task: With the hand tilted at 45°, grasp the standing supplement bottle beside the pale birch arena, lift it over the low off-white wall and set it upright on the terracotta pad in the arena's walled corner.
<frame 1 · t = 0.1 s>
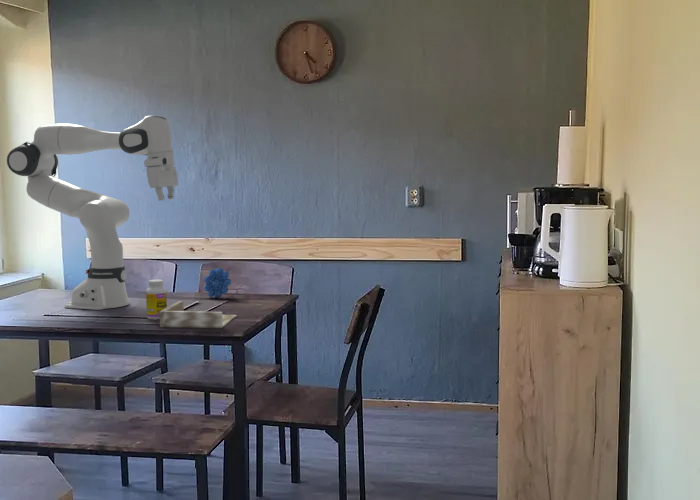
hand: (166, 199, 259), 39 cm above the table, tool pointing down, fingers open, 8 cm apart
blue flower shape: (218, 298, 280), on the table
supplement bottle: (157, 318, 244), on the table
arena: (199, 321, 238), on the table
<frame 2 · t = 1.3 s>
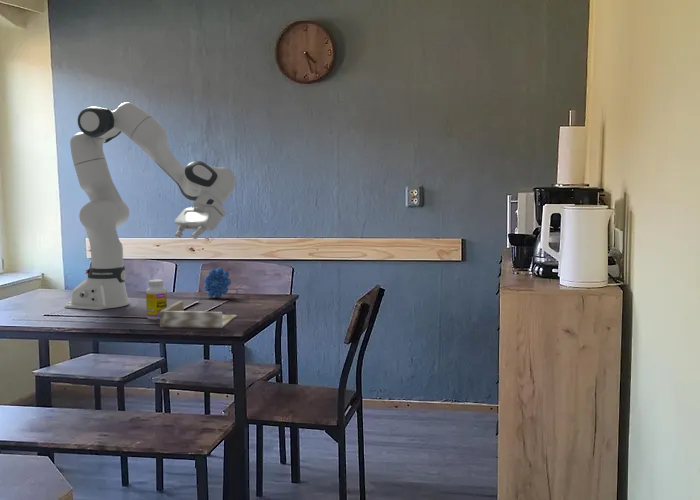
hand: (185, 237, 250), 26 cm above the table, tool tilted 45°, fingers open, 8 cm apart
nothing on the table moved.
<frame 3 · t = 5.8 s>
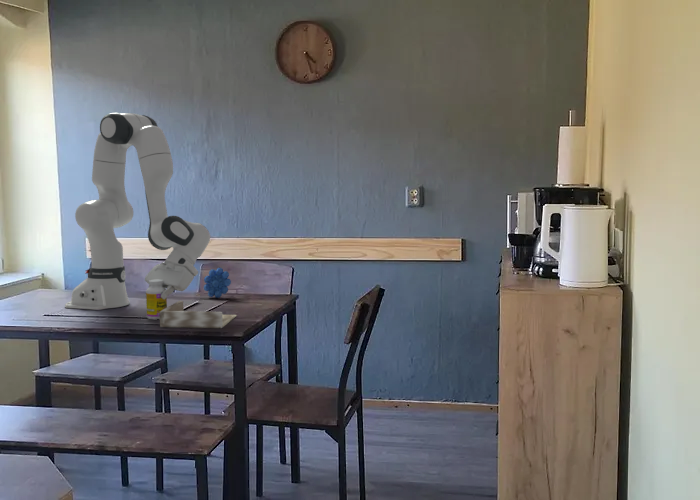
hand: (154, 296, 243), 7 cm above the table, tool tilted 45°, fingers closed on supplement bottle, 7 cm apart
supplement bottle: (157, 318, 244), on the table, touching gripper
everything else where it was.
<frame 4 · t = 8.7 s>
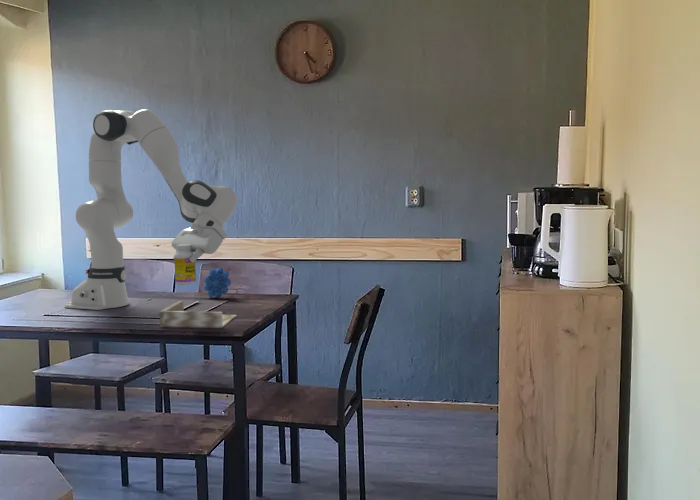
hand: (183, 260, 235), 20 cm above the table, tool tilted 45°, fingers closed on supplement bottle, 7 cm apart
supplement bottle: (185, 284, 237), point 12 cm above the table, touching gripper
everything else where it was.
when the fingers open (9 cm above the table, at t = 11.9 s): supplement bottle stays where it is, resting on arena.
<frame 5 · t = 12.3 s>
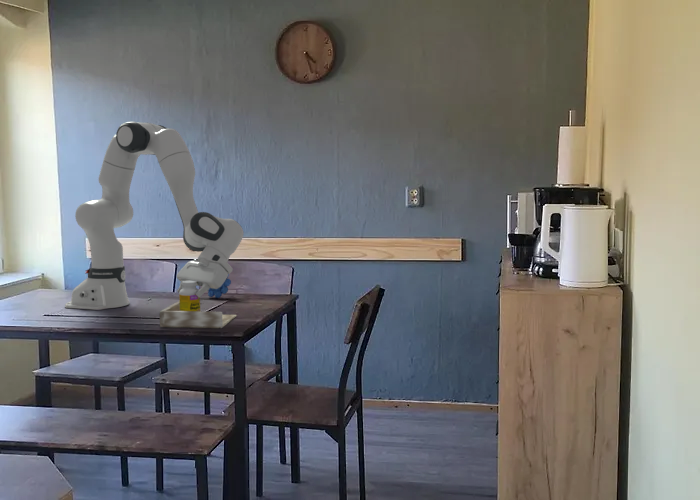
hand: (188, 294, 235), 9 cm above the table, tool tilted 45°, fingers open, 8 cm apart
supplement bottle: (190, 320, 237), point 1 cm above the table, touching arena
everything else where it was.
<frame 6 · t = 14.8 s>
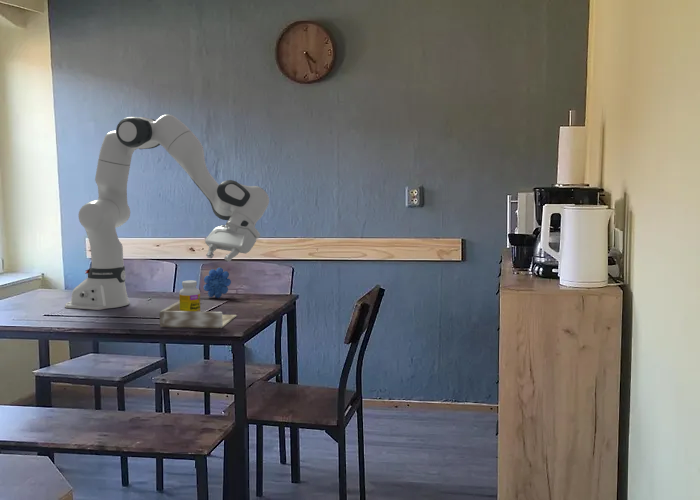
hand: (217, 258, 244), 20 cm above the table, tool tilted 45°, fingers open, 8 cm apart
nothing on the table moved.
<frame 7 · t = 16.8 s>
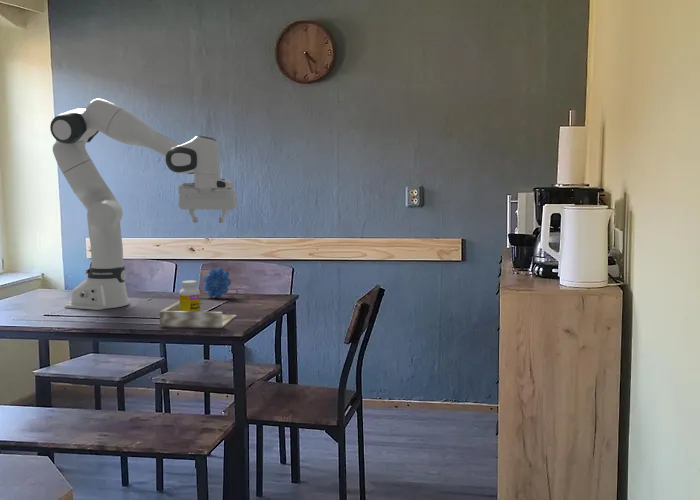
hand: (208, 222, 253), 31 cm above the table, tool pointing down, fingers open, 8 cm apart
nothing on the table moved.
at the end: supplement bottle inside the target area on the arena (0.1 cm from its centre), point 0.5 cm above the arena's base; supplement bottle tilted 0°; the gripper is holding nothing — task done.
